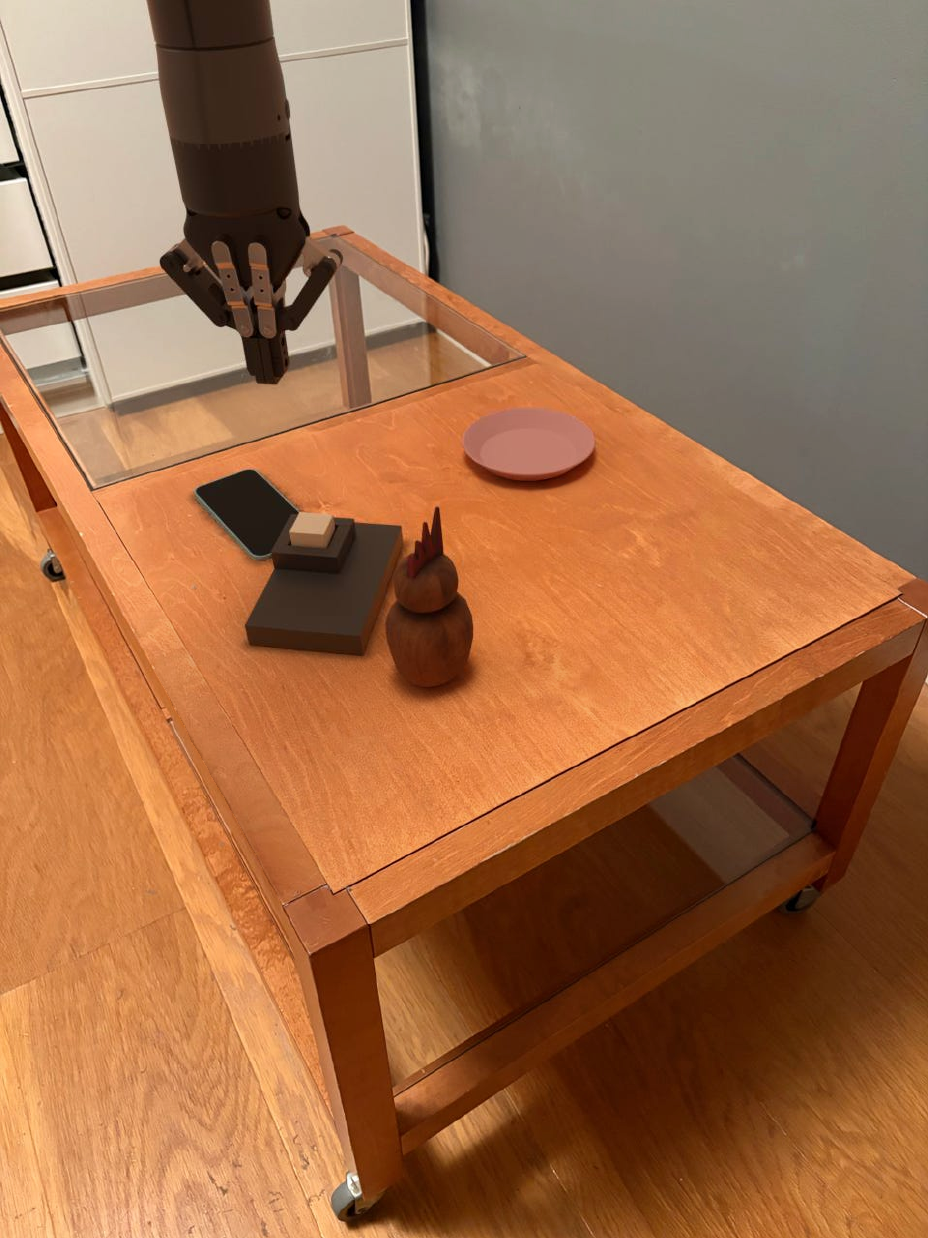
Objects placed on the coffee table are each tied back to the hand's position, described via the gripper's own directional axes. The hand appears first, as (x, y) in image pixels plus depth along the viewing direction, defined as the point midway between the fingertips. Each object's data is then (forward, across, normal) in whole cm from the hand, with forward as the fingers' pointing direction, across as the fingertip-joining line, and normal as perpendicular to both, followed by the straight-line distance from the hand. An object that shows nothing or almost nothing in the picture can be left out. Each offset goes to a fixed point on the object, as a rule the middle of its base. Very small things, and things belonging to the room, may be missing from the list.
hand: (271, 379), depth 70 cm
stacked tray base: (+22, +2, +2) cm, 22 cm away
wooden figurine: (+22, +13, -7) cm, 26 cm away
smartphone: (+22, -10, +13) cm, 28 cm away
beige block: (+18, -1, +5) cm, 19 cm away
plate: (+22, +17, +28) cm, 39 cm away
